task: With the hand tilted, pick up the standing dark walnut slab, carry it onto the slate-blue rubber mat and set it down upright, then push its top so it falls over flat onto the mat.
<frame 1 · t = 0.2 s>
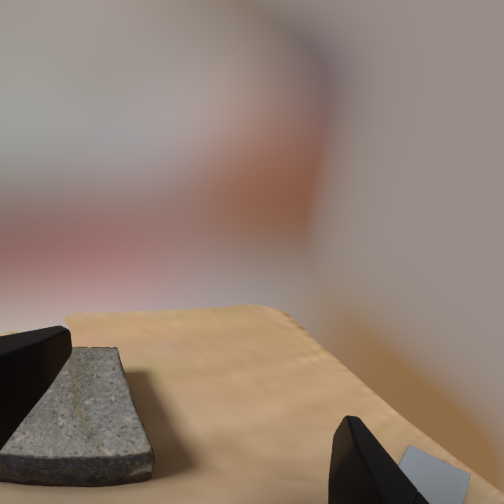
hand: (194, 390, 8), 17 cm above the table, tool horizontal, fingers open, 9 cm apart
stone block: (33, 425, 19), on the table
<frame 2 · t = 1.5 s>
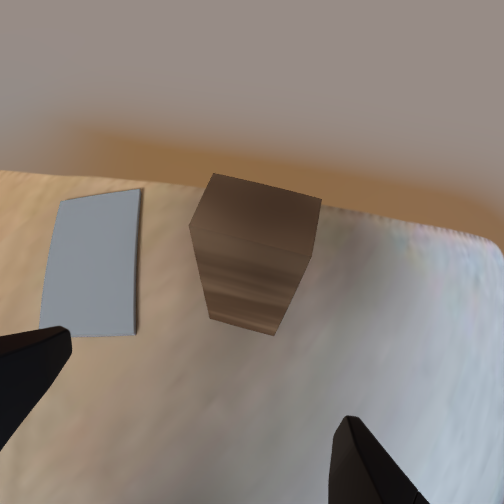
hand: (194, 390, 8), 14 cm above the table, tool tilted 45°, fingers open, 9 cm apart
walnut slab: (246, 309, 24), on the table
mat: (90, 260, 25), on the table
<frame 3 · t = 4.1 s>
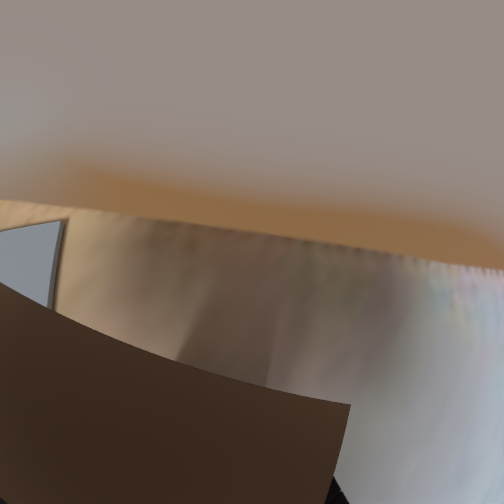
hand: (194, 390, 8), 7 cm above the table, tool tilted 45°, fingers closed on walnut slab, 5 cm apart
walnut slab: (203, 423, 13), on the table, touching gripper
mat: (0, 324, 15), on the table
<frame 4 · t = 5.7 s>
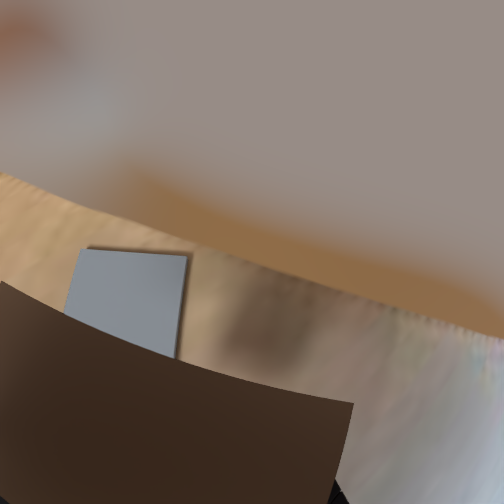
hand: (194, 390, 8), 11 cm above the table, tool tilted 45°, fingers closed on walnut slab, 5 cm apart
walnut slab: (204, 423, 13), point 5 cm above the table, touching gripper
mat: (114, 344, 20), on the table
when the fingers open (8 cm above the table, at t = 7.5 s): walnut slab stays where it is, resting on mat.
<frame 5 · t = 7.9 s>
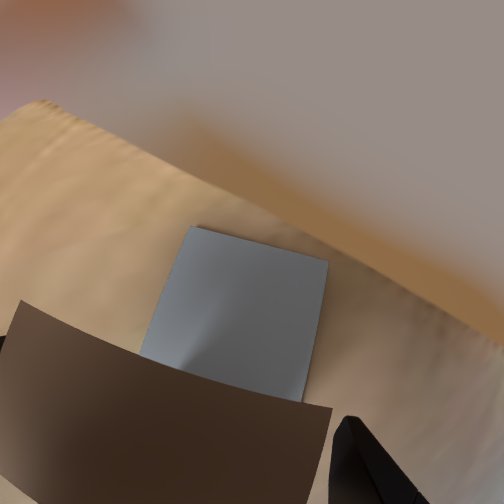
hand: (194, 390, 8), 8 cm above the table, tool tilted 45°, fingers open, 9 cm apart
walnut slab: (204, 423, 14), point 1 cm above the table, touching mat
mat: (226, 354, 16), on the table
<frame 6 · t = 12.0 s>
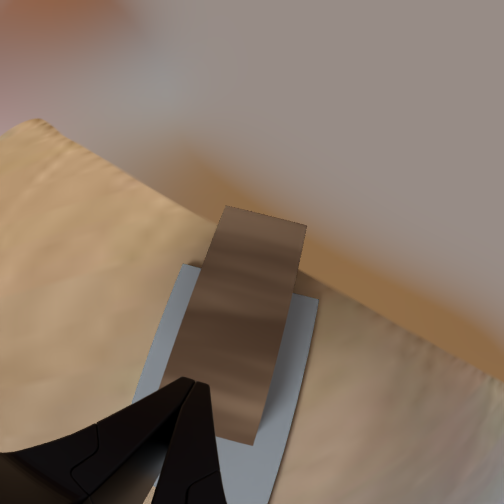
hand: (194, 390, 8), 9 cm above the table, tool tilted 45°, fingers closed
walnut slab: (203, 430, 14), point 2 cm above the table, tilted 90°, touching mat
mat: (218, 390, 17), on the table
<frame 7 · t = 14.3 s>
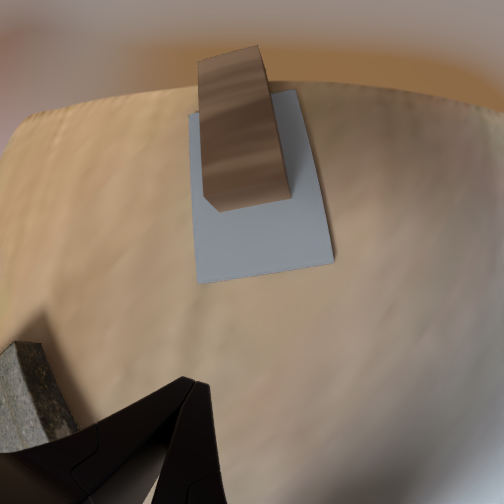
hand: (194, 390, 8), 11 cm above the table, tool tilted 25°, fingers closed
walnut slab: (249, 197, 19), point 2 cm above the table, tilted 90°, touching mat
mat: (252, 177, 22), on the table
stone block: (30, 426, 23), on the table
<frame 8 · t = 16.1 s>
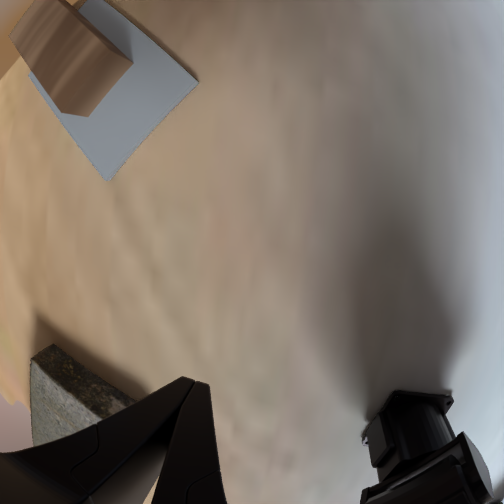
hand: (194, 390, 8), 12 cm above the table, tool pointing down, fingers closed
walnut slab: (97, 86, 16), point 2 cm above the table, tilted 90°, touching mat
mat: (98, 74, 18), on the table
stone block: (94, 424, 28), on the table
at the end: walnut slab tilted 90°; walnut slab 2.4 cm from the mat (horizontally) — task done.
